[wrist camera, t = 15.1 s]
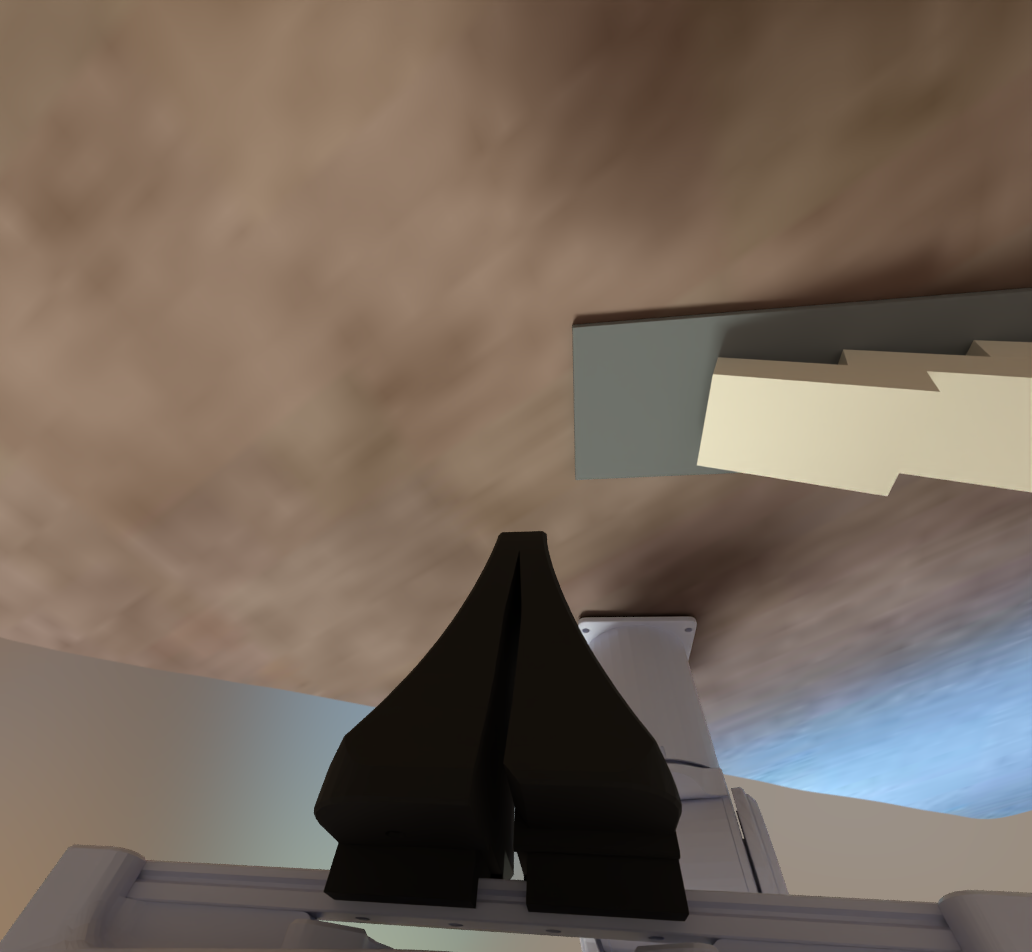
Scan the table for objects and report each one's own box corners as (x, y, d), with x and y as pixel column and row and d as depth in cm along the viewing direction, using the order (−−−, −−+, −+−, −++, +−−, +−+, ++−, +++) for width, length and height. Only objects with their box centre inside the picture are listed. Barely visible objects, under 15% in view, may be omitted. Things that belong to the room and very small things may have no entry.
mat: (1216, 446, 20) (1229, 451, 20) (575, 475, 23) (575, 479, 23) (1402, 257, 15) (1423, 259, 15) (572, 324, 18) (572, 327, 18)
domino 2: (811, 439, 20) (1011, 464, 17) (813, 460, 19) (1032, 492, 16) (843, 349, 18) (1082, 361, 15) (848, 366, 17) (1113, 383, 14)
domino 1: (702, 444, 21) (878, 469, 18) (696, 465, 19) (887, 496, 17) (718, 357, 18) (925, 370, 16) (712, 374, 17) (940, 391, 14)
